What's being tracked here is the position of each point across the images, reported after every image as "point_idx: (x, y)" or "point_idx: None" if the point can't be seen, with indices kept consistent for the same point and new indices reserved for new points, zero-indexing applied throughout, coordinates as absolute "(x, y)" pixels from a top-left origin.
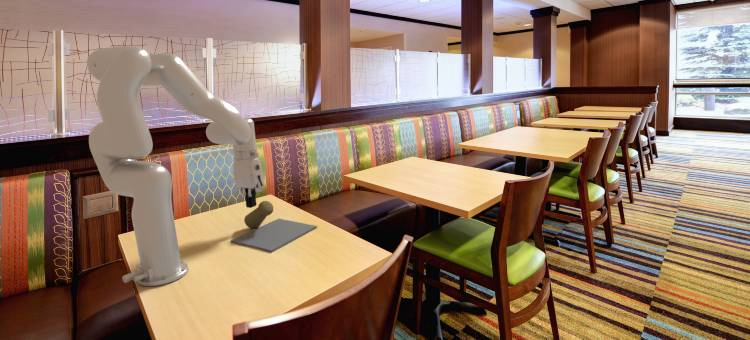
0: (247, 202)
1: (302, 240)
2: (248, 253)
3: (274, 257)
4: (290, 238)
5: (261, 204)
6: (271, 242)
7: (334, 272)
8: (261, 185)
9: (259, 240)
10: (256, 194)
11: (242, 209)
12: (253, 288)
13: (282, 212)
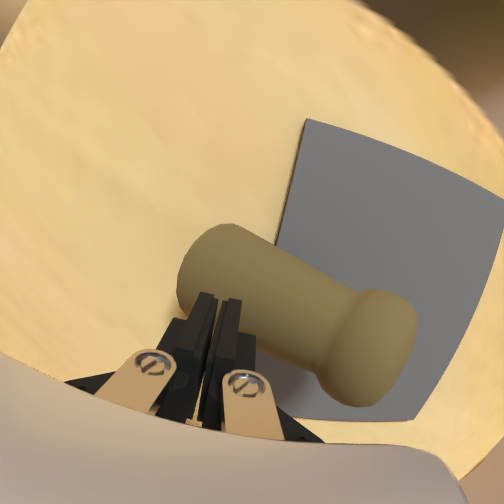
0: (200, 386)
1: (481, 324)
2: (345, 439)
3: (422, 428)
4: (453, 340)
5: (364, 406)
6: (399, 386)
7: None
8: (381, 456)
9: None
10: (264, 379)
11: (33, 63)
12: None
13: (254, 13)
